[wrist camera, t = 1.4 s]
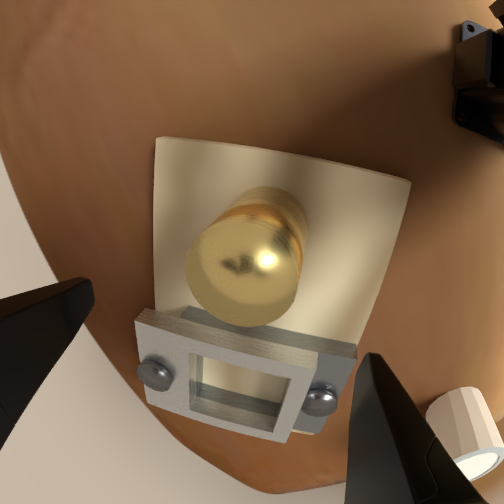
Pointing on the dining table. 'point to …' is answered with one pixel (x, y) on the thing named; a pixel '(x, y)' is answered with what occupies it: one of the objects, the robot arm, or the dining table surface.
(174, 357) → the square frame with knobs
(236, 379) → the board
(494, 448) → the white short tapered cylinder
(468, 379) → the dining table surface
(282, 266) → the pin
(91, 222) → the dining table surface
